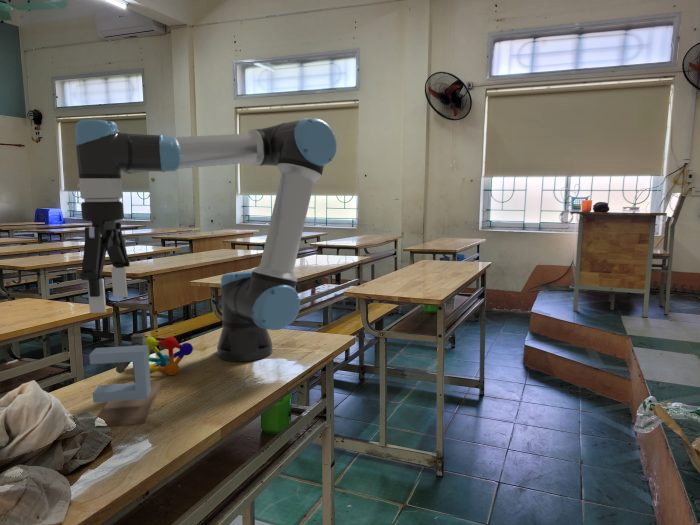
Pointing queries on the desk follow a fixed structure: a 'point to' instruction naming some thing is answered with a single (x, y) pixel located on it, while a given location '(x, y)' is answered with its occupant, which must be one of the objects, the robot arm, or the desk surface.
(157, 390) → the stand
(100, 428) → the desk surface
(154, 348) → the molecular model
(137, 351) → the c link
